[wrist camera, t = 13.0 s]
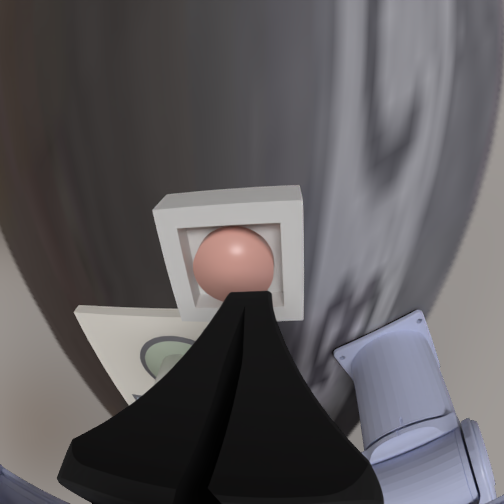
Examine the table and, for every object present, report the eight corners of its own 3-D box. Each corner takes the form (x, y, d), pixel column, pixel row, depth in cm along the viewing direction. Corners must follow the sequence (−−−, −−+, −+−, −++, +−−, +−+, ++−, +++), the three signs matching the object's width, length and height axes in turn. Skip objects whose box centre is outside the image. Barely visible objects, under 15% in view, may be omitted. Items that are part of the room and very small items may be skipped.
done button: (275, 290, 19) (275, 302, 18) (204, 292, 20) (200, 303, 19) (271, 223, 17) (271, 233, 16) (191, 228, 18) (186, 237, 17)
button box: (301, 296, 21) (303, 320, 19) (190, 298, 22) (182, 321, 20) (299, 185, 17) (302, 200, 15) (166, 194, 18) (152, 210, 16)
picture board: (271, 432, 32) (271, 440, 31) (147, 421, 34) (145, 428, 33) (259, 308, 22) (258, 318, 21) (78, 305, 24) (73, 313, 23)
